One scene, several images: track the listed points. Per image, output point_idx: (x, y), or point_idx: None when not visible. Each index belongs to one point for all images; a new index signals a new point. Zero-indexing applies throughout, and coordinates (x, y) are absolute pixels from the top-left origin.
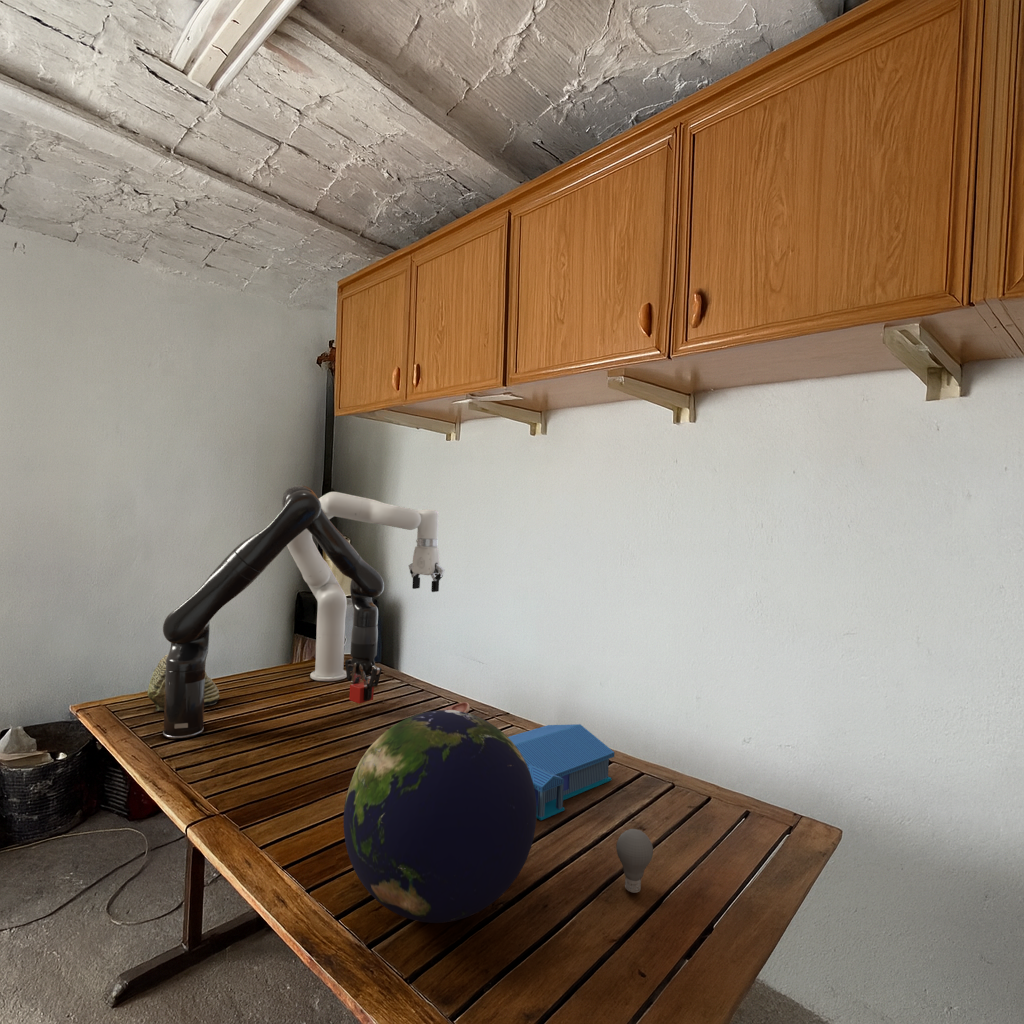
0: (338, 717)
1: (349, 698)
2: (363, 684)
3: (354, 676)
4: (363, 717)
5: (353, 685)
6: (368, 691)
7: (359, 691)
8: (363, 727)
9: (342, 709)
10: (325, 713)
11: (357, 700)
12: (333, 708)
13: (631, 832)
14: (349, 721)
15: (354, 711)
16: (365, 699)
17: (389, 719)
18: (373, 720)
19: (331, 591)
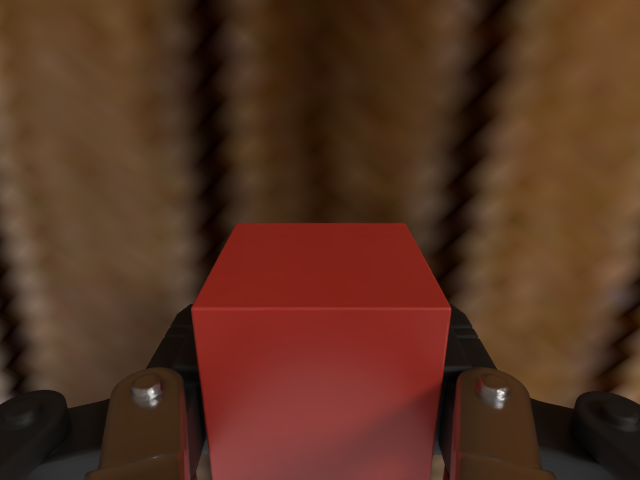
0: (385, 73)
1: (403, 227)
2: (321, 444)
3: (456, 473)
4: (239, 216)
5: (387, 327)
6: (151, 366)
7: (215, 282)
8: (37, 63)
9: (504, 221)
10: (552, 57)
11: (264, 231)
12: (581, 187)
13: None
14: (238, 75)
15: None
16: None
17: (81, 313)
18: (133, 225)
19: None
